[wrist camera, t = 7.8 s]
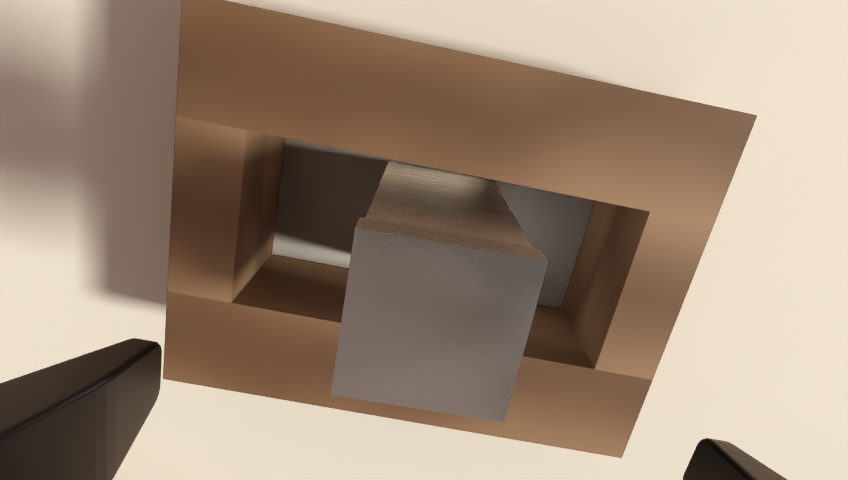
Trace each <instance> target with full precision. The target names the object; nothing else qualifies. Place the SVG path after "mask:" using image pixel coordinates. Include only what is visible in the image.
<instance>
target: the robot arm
mask: <svg viewBox="0 0 848 480" xmlns="http://www.w3.org/2000/svg"><path fill="white" fill-rule="evenodd" d="M161 355H162V351H161V346H160V345H159V344H158V343H157V342H153V341H147V340H142V339H136V338H133V339H129V340H126V341H123V342H120V343H117V344H114V345H111V346H108V347H105V348H102V349H100V350H97V351H94V352H91V353H88V354H85V355H82V356H79V357H76V358H73V359H70V360H67V361H65V362H62V363H59V364H56V365H53V366H50V367H47V368H44V369H41V370H38V371H35V372H32V373H30V374H27V375H24V376H21V377H18V378H15V379H12V380H9V381H6V382H3V383H0V480H112V479H113V478H114V476H115V474H116V473H117V471H118V469H119V467H120V465H121V464H122V462H123V460H124V458H125V456H126V455H127V453H128V451H129V449H130V447H131V446H132V444H133V442H134V440H135V438H136V436H137V435H138V433H139V431H140V429H141V427H142V426H143V424H144V422H145V420H146V418H147V417H148V415H149V413H150V411H151V409H152V408H153V406H154V404H155V402H156V400H157V397H158V394H159V390H160V377H161ZM683 480H787V479H785V478H784V477H782V476H781V475H779V474H778V473H776V472H775V471H773V470H771V469H770V468H768V467H767V466H765V465H764V464H762V463H761V462H759V461H758V460H756V459H754V458H753V457H751V456H750V455H748V454H747V453H745V452H744V451H742V450H741V449H739V448H738V447H736V446H734V445H733V444H731V443H729V442H726V441H721V440H715V439H709V438H706V439H703V440H701V441H700V442H699V443H698V445H697V447H696V449H695V451H694V454H693V456H692V458H691V460H690V462H689V465H688V467H687V469H686V471H685V473H684V476H683Z"/></svg>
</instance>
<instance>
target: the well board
mask: <svg viewBox="0 0 848 480" xmlns="http://www.w3.org/2000/svg"><path fill="white" fill-rule="evenodd" d="M756 117H757V115H752V114H748V113H743V112H739V111H734V110H729V109H725V108H720V107H715V106H711V105H706V104H702V103H697V102H692V101H688V100H683V99H678V98H674V97H669V96H664V95H660V94H655V93H651V92H646V91H641V90H637V89H632V88H627V87H623V86H618V85H614V84H609V83H604V82H600V81H595V80H590V79H586V78H581V77H577V76H572V75H567V74H563V73H558V72H553V71H549V70H544V69H539V68H535V67H530V66H526V65H521V64H516V63H512V62H507V61H502V60H498V59H493V58H489V57H484V56H479V55H475V54H470V53H465V52H461V51H456V50H452V49H447V48H442V47H438V46H433V45H428V44H424V43H419V42H414V41H410V40H405V39H401V38H396V37H391V36H387V35H382V34H377V33H373V32H368V31H364V30H359V29H354V28H350V27H345V26H340V25H336V24H331V23H327V22H322V21H317V20H313V19H308V18H303V17H299V16H294V15H289V14H285V13H280V12H276V11H271V10H266V9H262V8H257V7H252V6H248V5H243V4H239V3H234V2H229V1H225V0H182V4H181V24H180V44H179V64H178V85H177V105H176V125H175V145H174V166H173V186H172V206H171V227H170V247H169V267H168V287H167V308H166V328H165V348H164V368H163V379H167V380H173V381H179V382H184V383H190V384H196V385H202V386H208V387H213V388H219V389H225V390H231V391H237V392H242V393H248V394H254V395H260V396H265V397H271V398H277V399H283V400H289V401H294V402H300V403H306V404H312V405H318V406H323V407H329V408H335V409H341V410H347V411H352V412H358V413H364V414H370V415H376V416H381V417H387V418H393V419H399V420H404V421H410V422H416V423H422V424H428V425H433V426H439V427H445V428H451V429H457V430H462V431H468V432H474V433H480V434H486V435H491V436H497V437H503V438H509V439H514V440H520V441H526V442H532V443H538V444H543V445H549V446H555V447H561V448H567V449H572V450H578V451H584V452H590V453H596V454H601V455H607V456H613V457H619V458H622V456H623V453H624V451H625V448H626V446H627V443H628V440H629V438H630V435H631V433H632V430H633V428H634V425H635V423H636V420H637V418H638V415H639V413H640V410H641V408H642V405H643V403H644V400H645V398H646V395H647V392H648V390H649V387H650V385H651V382H652V380H653V377H654V375H655V372H656V370H657V367H658V365H659V362H660V360H661V357H662V355H663V352H664V350H665V347H666V344H667V342H668V339H669V337H670V334H671V332H672V329H673V327H674V324H675V322H676V319H677V317H678V314H679V312H680V309H681V307H682V304H683V302H684V299H685V296H686V294H687V291H688V289H689V286H690V284H691V281H692V279H693V276H694V274H695V271H696V269H697V266H698V264H699V261H700V259H701V256H702V254H703V251H704V248H705V246H706V243H707V241H708V238H709V236H710V233H711V231H712V228H713V226H714V223H715V221H716V218H717V216H718V213H719V211H720V208H721V206H722V203H723V200H724V198H725V195H726V193H727V190H728V188H729V185H730V183H731V180H732V178H733V175H734V173H735V170H736V168H737V165H738V163H739V160H740V158H741V155H742V152H743V150H744V147H745V145H746V142H747V140H748V137H749V135H750V132H751V130H752V127H753V125H754V122H755V120H756ZM285 138H288V139H293V140H298V141H303V142H308V143H313V144H318V145H323V146H328V147H333V148H338V149H343V150H348V151H353V152H358V153H363V154H368V155H373V156H378V157H382V158H387V159H392V160H397V161H402V162H407V163H412V164H417V165H422V166H427V167H432V168H437V169H442V170H447V171H452V172H457V173H462V174H467V175H472V176H476V177H481V178H486V179H491V180H496V181H501V182H506V183H511V184H516V185H521V186H526V187H531V188H536V189H541V190H546V191H551V192H556V193H561V194H566V195H571V196H575V197H580V198H585V199H590V200H595V203H594V206H593V209H592V212H591V216H590V219H589V222H588V225H587V228H586V231H585V235H584V238H583V241H582V244H581V247H580V250H579V254H578V257H577V260H576V263H575V266H574V269H573V273H572V276H571V279H570V282H569V285H568V288H567V292H566V295H565V298H564V301H563V304H562V308H561V309H557V308H552V307H547V306H541V305H537V306H536V309H535V313H534V317H533V320H532V324H531V327H530V331H529V335H528V338H527V342H526V346H525V349H524V353H523V356H522V360H521V364H520V367H519V371H518V375H517V378H516V382H515V385H514V389H513V393H512V396H511V400H510V404H509V407H508V411H507V414H506V418H505V422H499V421H492V420H486V419H480V418H473V417H467V416H461V415H454V414H448V413H442V412H435V411H429V410H422V409H416V408H410V407H403V406H397V405H391V404H384V403H378V402H372V401H365V400H359V399H353V398H346V397H340V396H334V395H331V388H332V381H333V375H334V368H335V361H336V354H337V347H338V341H339V334H340V327H341V320H342V313H343V306H344V300H345V293H346V286H347V279H348V272H349V269H345V268H340V267H335V266H329V265H324V264H319V263H313V262H308V261H303V260H297V259H292V258H287V257H282V256H276V255H272V247H273V238H274V230H275V221H276V212H277V204H278V195H279V186H280V178H281V169H282V161H283V152H284V143H285Z"/></svg>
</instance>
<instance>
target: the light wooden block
mask: <svg viewBox="0 0 848 480" xmlns="http://www.w3.org/2000/svg"><path fill="white" fill-rule="evenodd" d="M548 262H549V261H548V259H547V258H546V256H545V254H544V253H543V251H542V250H541V249H539V248H533V247H532V245H531V244H530V242H529V240H528V239H527V237H526V235H525V234H524V232H523V230H522V229H521V227H520V225H519V224H518V222H517V220H516V219H515V217H514V215H513V214H512V212H511V210H510V209H509V207H508V205H507V204H506V202H505V200H504V199H503V197H502V195H501V194H500V192H499V190H498V189H497V187H496V185H495V184H494V182H493V180H489V179H484V178H478V177H473V176H467V175H462V174H456V173H451V172H445V171H440V170H434V169H429V168H423V167H418V166H412V165H407V164H401V163H396V162H390V161H389V162H388V165H387V167H386V169H385V172H384V174H383V177H382V179H381V181H380V184H379V186H378V189H377V191H376V193H375V196H374V198H373V201H372V203H371V205H370V208H369V210H368V213H367V215H366V217H365V218H363V217H360V218H359V220H358V222H357V224H356V226H355V231H354V238H353V245H352V252H351V259H350V265H349V272H348V279H347V286H346V293H345V300H344V306H343V313H342V320H341V327H340V334H339V341H338V347H337V354H336V361H335V368H334V375H333V381H332V388H331V395H334V396H340V397H346V398H353V399H359V400H365V401H372V402H378V403H384V404H391V405H397V406H403V407H410V408H416V409H422V410H429V411H435V412H442V413H448V414H454V415H461V416H467V417H473V418H480V419H486V420H492V421H499V422H505V418H506V414H507V411H508V407H509V404H510V400H511V396H512V393H513V389H514V385H515V382H516V378H517V375H518V371H519V367H520V364H521V360H522V356H523V353H524V349H525V346H526V342H527V338H528V335H529V331H530V327H531V324H532V320H533V317H534V313H535V309H536V306H537V302H538V298H539V295H540V291H541V288H542V284H543V280H544V277H545V273H546V269H547V266H548Z"/></svg>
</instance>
